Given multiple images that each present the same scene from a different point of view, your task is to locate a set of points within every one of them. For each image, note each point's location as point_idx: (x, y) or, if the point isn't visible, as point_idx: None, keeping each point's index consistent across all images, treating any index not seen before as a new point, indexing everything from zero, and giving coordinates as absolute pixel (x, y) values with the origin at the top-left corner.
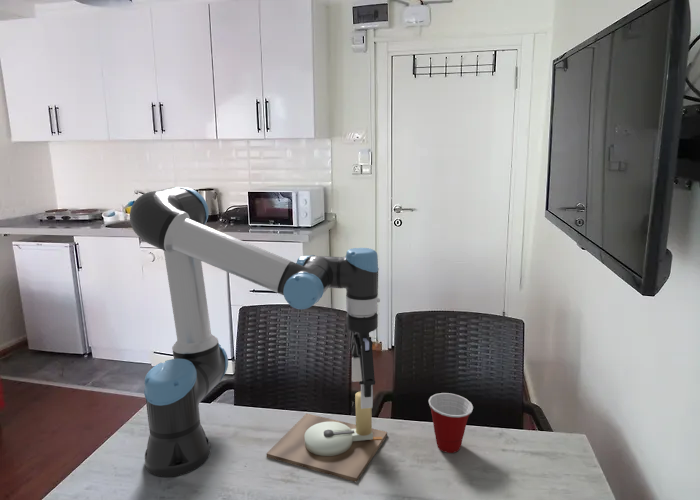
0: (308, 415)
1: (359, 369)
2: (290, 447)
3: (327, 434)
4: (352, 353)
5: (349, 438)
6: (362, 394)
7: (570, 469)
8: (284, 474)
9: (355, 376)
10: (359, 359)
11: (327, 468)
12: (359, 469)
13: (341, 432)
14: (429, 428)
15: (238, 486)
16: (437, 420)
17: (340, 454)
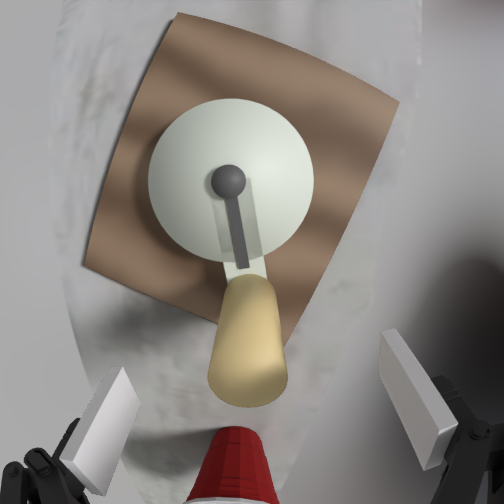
0: (388, 108)
1: (402, 406)
2: (204, 65)
3: (214, 179)
4: (469, 448)
5: (206, 253)
6: (87, 416)
7: None
8: (107, 80)
9: (391, 362)
10: (425, 453)
11: (109, 189)
12: (113, 273)
13: (237, 226)
14: (305, 419)
15: (81, 4)
16: (203, 481)
17: None
